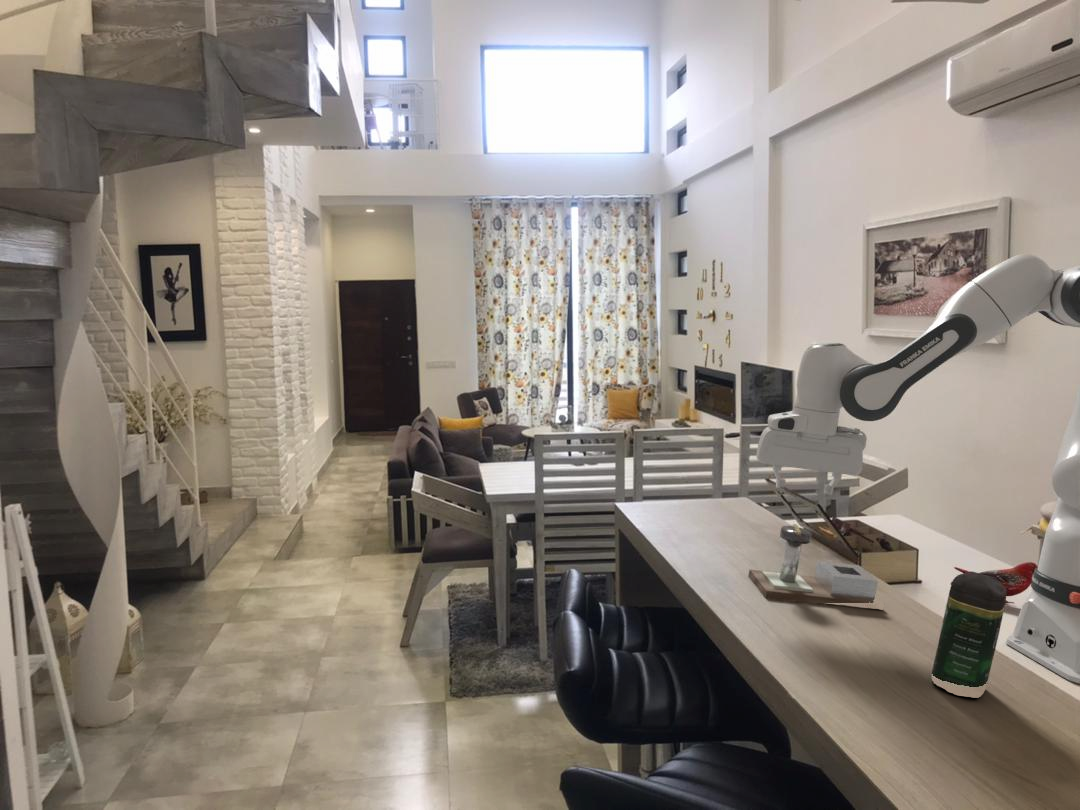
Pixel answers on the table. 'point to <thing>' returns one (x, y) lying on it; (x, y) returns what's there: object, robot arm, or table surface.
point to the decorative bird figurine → (1012, 577)
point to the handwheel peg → (792, 550)
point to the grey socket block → (845, 580)
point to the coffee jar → (970, 630)
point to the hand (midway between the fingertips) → (803, 490)
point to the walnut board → (796, 589)
